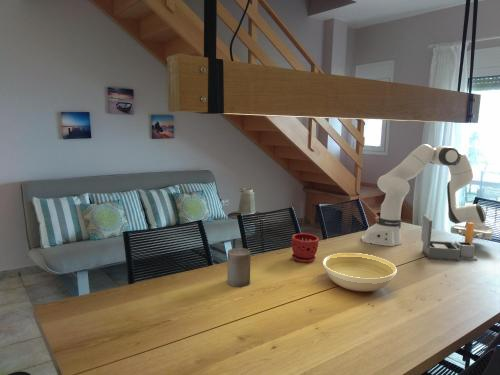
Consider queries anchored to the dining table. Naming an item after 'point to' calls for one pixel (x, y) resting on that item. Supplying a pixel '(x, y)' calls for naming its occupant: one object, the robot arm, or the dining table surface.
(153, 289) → the dining table surface
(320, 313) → the dining table surface
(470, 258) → the grey square holder
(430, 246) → the equipment case
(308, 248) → the plant pot
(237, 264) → the pillar candle
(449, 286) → the dining table surface
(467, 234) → the rod
